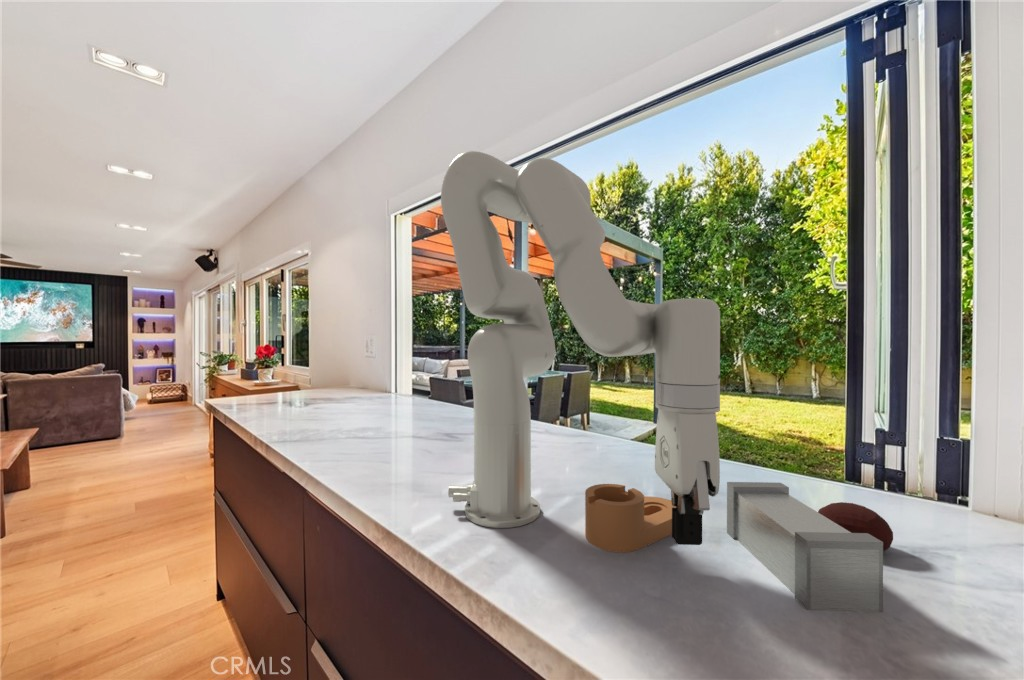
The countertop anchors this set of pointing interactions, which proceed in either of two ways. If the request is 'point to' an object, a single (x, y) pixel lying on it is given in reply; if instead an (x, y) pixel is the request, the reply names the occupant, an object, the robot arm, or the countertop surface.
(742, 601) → the countertop surface
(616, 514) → the bracket
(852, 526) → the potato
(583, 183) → the robot arm
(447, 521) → the countertop surface
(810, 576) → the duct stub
